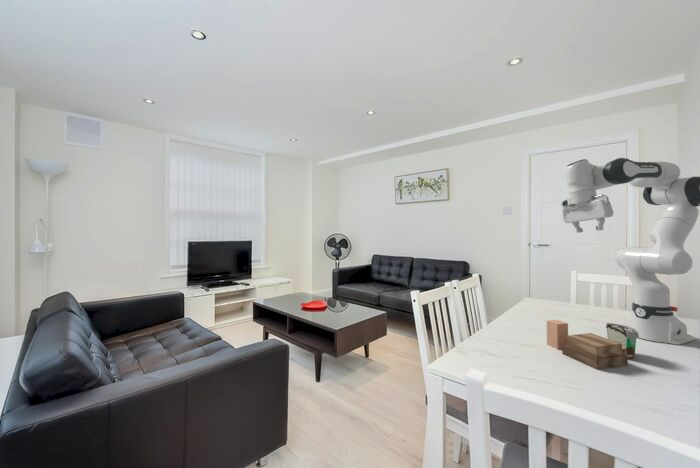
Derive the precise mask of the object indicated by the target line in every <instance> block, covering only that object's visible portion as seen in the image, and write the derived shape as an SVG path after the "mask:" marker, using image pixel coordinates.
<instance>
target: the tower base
mask: <svg viewBox="0 0 700 468" xmlns="http://www.w3.org/2000/svg"><path fill="white" fill-rule="evenodd" d="M561 350H562V352H561V353H562V355H564V356H566V357H568V358H570V359H572V360H575V361H577V362H579V363H581V364H583V365H586V366H588V367H590V368H592V369H595V370H605V369H613V368H620V367H628V366H629V359H628V356H626V355H624V354H622V355H618V356H610V357H603V358H595V357H592V356H590V355H587V354H585V353H582V352H580V351H577V350H575V349H573V348H570V347H568V346H567V345H562V349H561Z"/></svg>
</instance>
